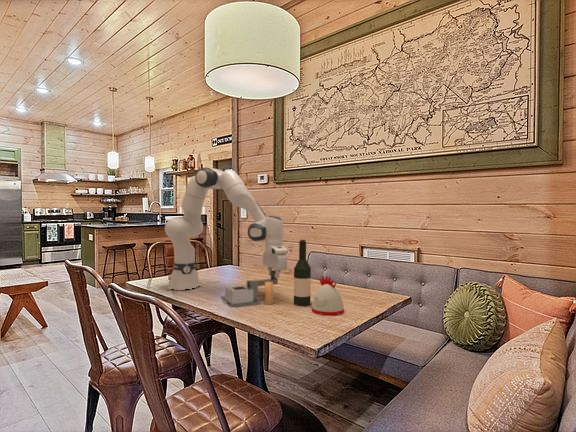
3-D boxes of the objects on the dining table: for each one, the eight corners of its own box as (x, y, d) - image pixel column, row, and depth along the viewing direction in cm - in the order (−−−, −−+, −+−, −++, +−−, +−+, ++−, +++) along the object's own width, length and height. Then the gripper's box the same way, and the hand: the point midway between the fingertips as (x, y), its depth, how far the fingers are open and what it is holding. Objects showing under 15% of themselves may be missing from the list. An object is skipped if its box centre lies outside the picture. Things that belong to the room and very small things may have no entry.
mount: (221, 298, 169) (221, 279, 169) (245, 295, 175) (245, 277, 175) (233, 307, 153) (233, 286, 153) (260, 304, 159) (260, 283, 159)
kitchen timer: (323, 305, 159) (323, 272, 159) (349, 310, 150) (349, 276, 150) (305, 311, 148) (305, 277, 148) (332, 318, 140) (333, 281, 139)
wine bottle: (290, 304, 159) (290, 240, 159) (298, 300, 166) (298, 238, 166) (306, 307, 155) (307, 240, 155) (313, 302, 162) (314, 239, 162)
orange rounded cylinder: (263, 303, 161) (263, 282, 161) (270, 302, 163) (270, 281, 162) (266, 305, 158) (267, 283, 158) (273, 304, 159) (274, 282, 159)
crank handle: (249, 285, 164) (249, 272, 164) (275, 283, 171) (275, 270, 171) (251, 286, 162) (251, 273, 162) (277, 284, 168) (278, 271, 168)
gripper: (259, 247, 176) (259, 273, 177) (277, 251, 158) (277, 281, 159) (270, 246, 179) (270, 272, 180) (289, 250, 161) (289, 279, 162)
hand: (273, 276), depth 169 cm, fingers open, 5 cm apart
